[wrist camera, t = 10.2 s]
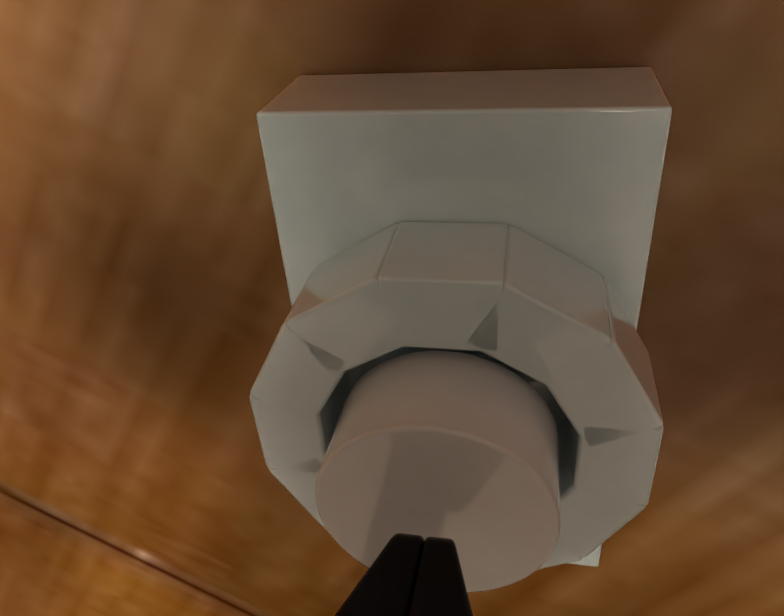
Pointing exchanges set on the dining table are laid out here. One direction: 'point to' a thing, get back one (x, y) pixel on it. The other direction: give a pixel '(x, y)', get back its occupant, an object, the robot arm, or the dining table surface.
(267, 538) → the dining table surface
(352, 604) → the robot arm
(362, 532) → the flush button
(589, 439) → the control knob block
